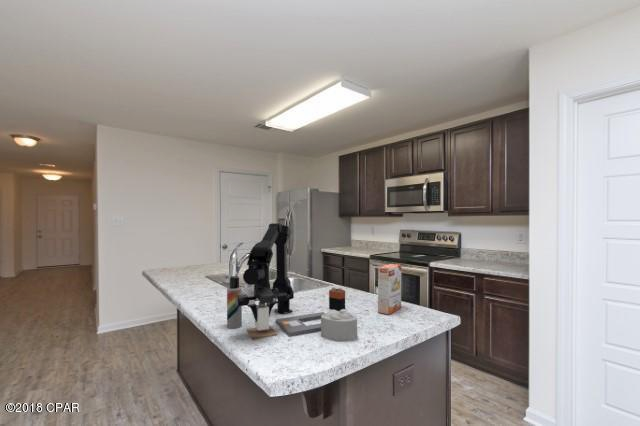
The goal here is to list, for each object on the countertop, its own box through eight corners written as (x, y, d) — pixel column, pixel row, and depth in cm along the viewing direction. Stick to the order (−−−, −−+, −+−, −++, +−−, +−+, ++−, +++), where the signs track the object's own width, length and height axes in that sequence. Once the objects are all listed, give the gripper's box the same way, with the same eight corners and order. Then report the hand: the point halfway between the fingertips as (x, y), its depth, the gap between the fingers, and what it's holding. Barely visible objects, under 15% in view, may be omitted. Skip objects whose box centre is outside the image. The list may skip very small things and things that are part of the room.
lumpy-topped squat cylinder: (331, 328, 121) (331, 306, 121) (362, 334, 114) (362, 310, 114) (317, 337, 112) (317, 313, 112) (350, 344, 105) (350, 318, 105)
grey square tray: (275, 322, 127) (275, 317, 127) (323, 315, 137) (323, 310, 137) (289, 336, 112) (289, 330, 112) (342, 327, 121) (342, 321, 121)
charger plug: (255, 326, 117) (255, 301, 118) (265, 324, 119) (265, 300, 119) (258, 330, 113) (258, 304, 113) (268, 328, 115) (268, 303, 115)
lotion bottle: (228, 324, 126) (228, 275, 126) (242, 323, 127) (242, 274, 127) (225, 328, 120) (225, 277, 121) (240, 328, 121) (240, 277, 121)
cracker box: (389, 315, 136) (389, 268, 136) (377, 313, 139) (377, 266, 140) (402, 308, 147) (401, 264, 147) (390, 306, 150) (390, 263, 151)
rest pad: (246, 330, 119) (246, 328, 119) (269, 326, 123) (269, 325, 123) (252, 339, 110) (252, 337, 110) (277, 335, 113) (277, 333, 113)
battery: (340, 311, 142) (340, 289, 142) (328, 309, 146) (328, 288, 146) (345, 309, 146) (345, 288, 146) (333, 307, 150) (333, 286, 150)
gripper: (240, 285, 105) (240, 331, 105) (292, 280, 113) (292, 323, 113) (235, 280, 115) (235, 322, 115) (282, 275, 123) (282, 315, 123)
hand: (261, 320), depth 116 cm, fingers closed on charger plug, 4 cm apart
